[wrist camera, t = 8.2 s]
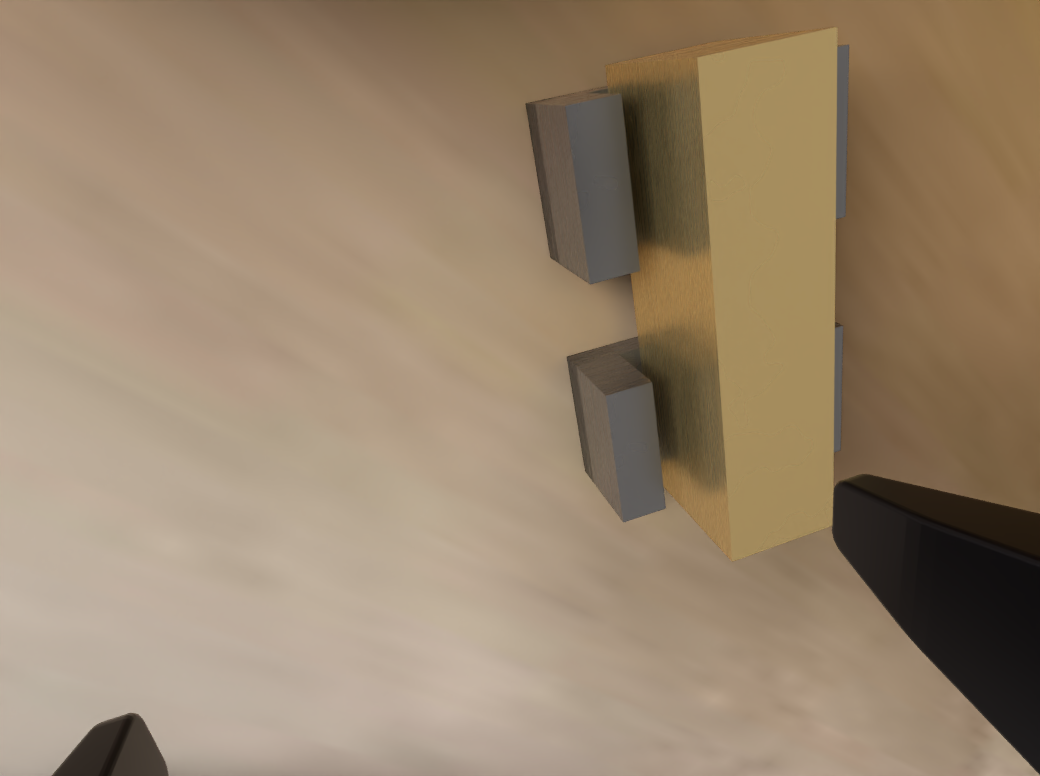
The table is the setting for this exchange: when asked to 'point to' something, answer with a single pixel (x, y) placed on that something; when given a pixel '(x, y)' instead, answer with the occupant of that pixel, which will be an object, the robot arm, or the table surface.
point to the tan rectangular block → (738, 276)
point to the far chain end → (634, 424)
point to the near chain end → (611, 177)
